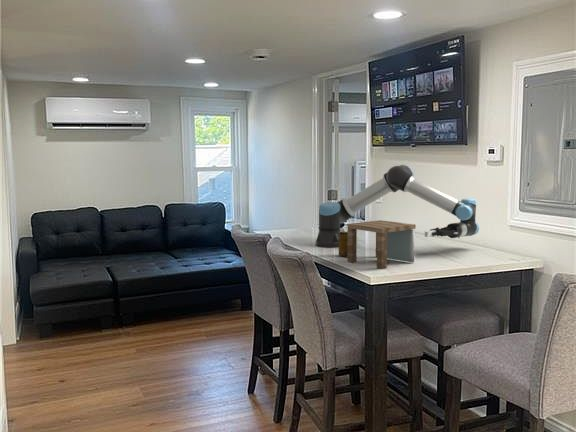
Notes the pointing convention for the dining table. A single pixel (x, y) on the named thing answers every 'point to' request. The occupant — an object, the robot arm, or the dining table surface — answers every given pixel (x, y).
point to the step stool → (381, 238)
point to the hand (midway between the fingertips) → (426, 234)
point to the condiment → (343, 244)
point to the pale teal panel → (401, 245)
